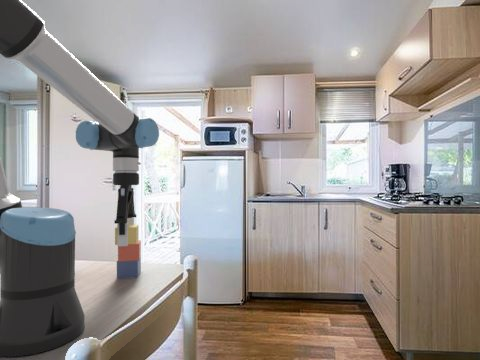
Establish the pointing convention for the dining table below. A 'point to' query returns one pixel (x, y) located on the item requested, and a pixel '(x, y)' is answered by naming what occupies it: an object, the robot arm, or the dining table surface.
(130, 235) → the mustard brick
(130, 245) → the red brick
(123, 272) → the blue cube
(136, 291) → the dining table surface
